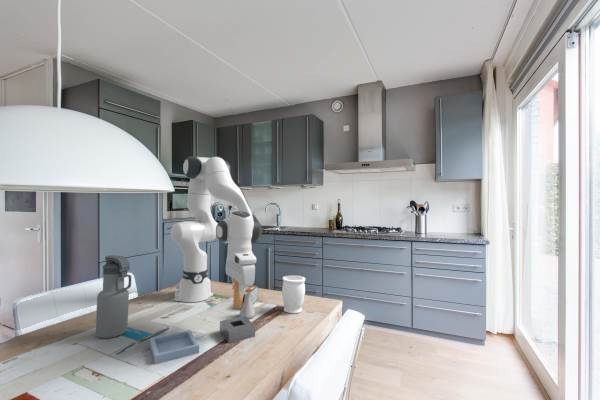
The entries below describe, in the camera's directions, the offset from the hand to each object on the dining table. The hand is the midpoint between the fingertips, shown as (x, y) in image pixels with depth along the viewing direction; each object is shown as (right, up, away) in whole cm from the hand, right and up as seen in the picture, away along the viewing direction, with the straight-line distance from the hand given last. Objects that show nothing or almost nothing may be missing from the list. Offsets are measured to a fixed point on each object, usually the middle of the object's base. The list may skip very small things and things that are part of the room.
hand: (237, 291), depth 108 cm
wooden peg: (0, -6, 0) cm, 6 cm away
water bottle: (-45, -15, -3) cm, 48 cm away
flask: (0, -16, +17) cm, 23 cm away
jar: (+20, -17, +25) cm, 36 cm away
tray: (-19, -15, -12) cm, 27 cm away
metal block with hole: (0, -16, 0) cm, 16 cm away
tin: (0, -16, +31) cm, 35 cm away
